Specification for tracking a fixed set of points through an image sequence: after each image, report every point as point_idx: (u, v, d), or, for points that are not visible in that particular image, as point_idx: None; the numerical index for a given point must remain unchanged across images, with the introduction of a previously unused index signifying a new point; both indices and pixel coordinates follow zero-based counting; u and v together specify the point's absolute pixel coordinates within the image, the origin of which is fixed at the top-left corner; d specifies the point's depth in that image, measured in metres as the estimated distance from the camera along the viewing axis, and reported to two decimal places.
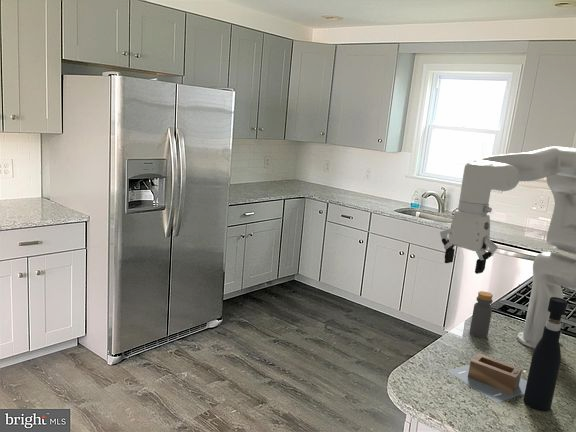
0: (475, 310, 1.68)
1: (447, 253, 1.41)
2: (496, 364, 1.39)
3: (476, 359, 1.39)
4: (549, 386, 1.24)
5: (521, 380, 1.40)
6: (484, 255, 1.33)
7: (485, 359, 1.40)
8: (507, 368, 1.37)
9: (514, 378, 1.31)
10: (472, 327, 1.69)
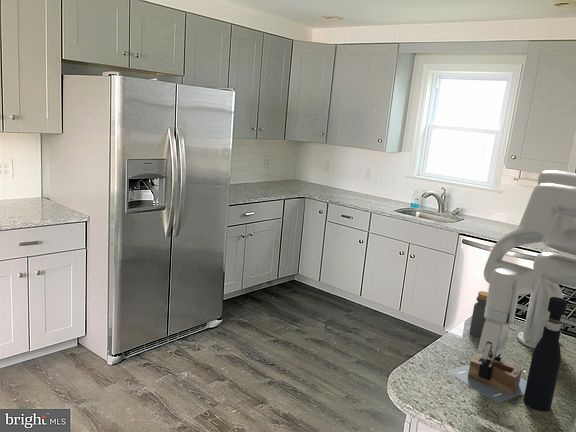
0: (475, 310, 1.68)
1: None
2: (496, 364, 1.39)
3: (476, 359, 1.39)
4: (549, 386, 1.24)
5: (521, 380, 1.40)
6: None
7: None
8: (507, 368, 1.37)
9: (514, 378, 1.31)
10: (472, 327, 1.69)
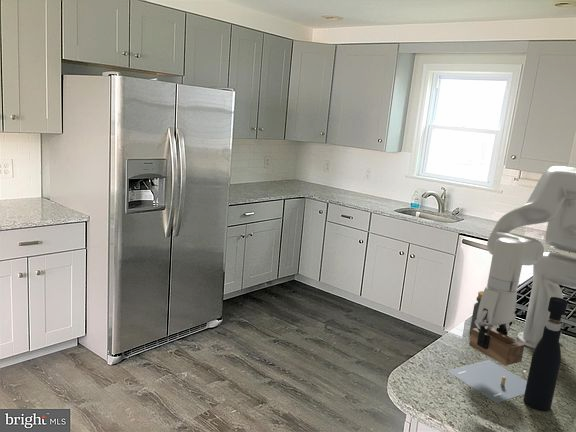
0: (475, 310, 1.68)
1: None
2: (500, 337, 1.37)
3: None
4: (549, 386, 1.24)
5: (521, 380, 1.40)
6: (508, 326, 1.38)
7: (491, 331, 1.39)
8: (510, 341, 1.34)
9: (507, 348, 1.29)
10: (472, 327, 1.69)
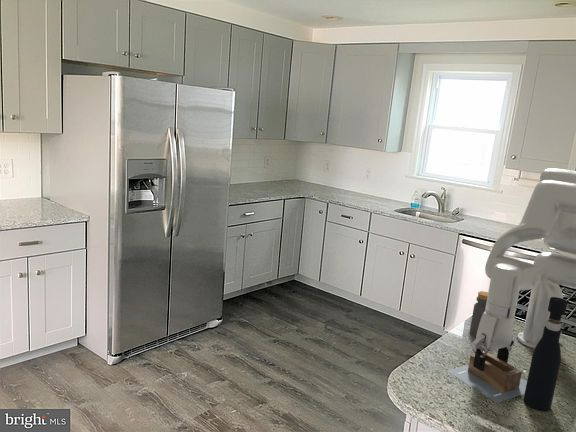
0: (475, 310, 1.68)
1: None
2: (498, 363, 1.39)
3: None
4: (549, 386, 1.24)
5: (521, 380, 1.40)
6: (510, 345, 1.41)
7: (489, 357, 1.42)
8: (507, 368, 1.37)
9: (505, 376, 1.32)
10: (472, 327, 1.69)
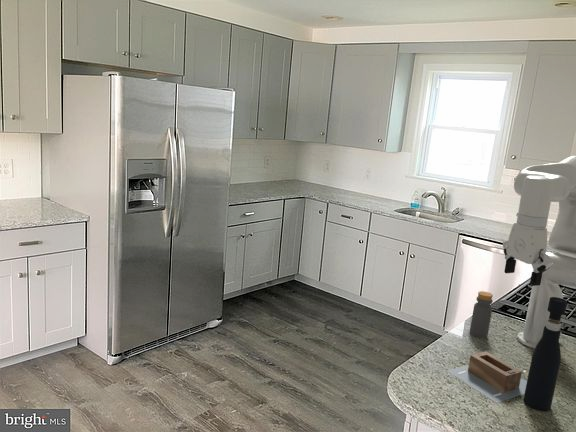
0: (475, 310, 1.68)
1: None
2: (498, 363, 1.39)
3: (478, 355, 1.42)
4: (549, 386, 1.24)
5: (521, 380, 1.40)
6: None
7: (489, 357, 1.42)
8: (507, 368, 1.37)
9: (505, 376, 1.32)
10: (472, 327, 1.69)
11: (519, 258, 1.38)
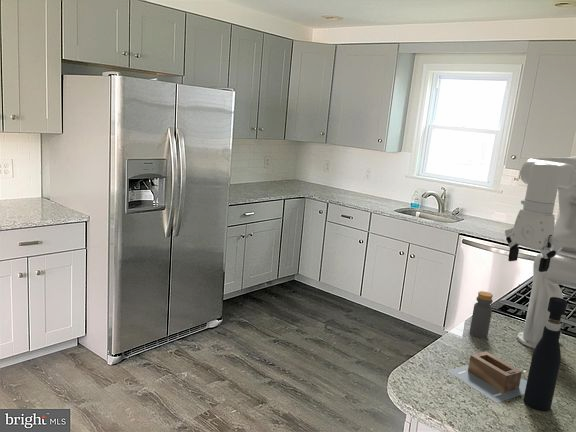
0: (475, 310, 1.68)
1: None
2: (498, 363, 1.39)
3: (478, 355, 1.42)
4: (549, 386, 1.24)
5: (521, 380, 1.40)
6: None
7: (489, 357, 1.42)
8: (507, 368, 1.37)
9: (505, 376, 1.32)
10: (472, 327, 1.69)
11: (527, 245, 1.38)
